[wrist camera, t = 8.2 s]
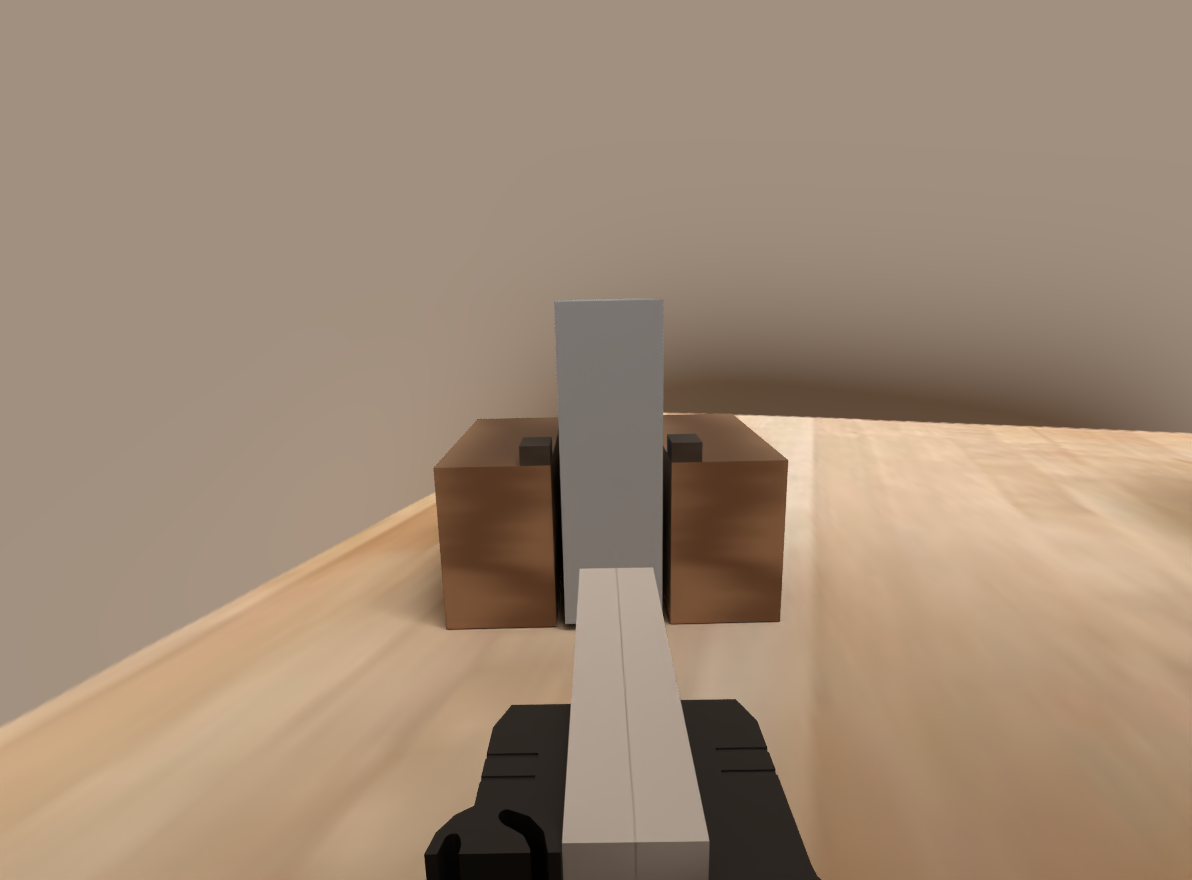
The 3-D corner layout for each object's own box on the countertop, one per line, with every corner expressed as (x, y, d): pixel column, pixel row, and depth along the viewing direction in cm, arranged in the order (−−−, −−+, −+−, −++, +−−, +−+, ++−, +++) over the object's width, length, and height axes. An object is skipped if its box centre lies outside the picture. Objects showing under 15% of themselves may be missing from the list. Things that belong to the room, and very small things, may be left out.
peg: (645, 546, 34) (644, 298, 31) (662, 621, 26) (663, 299, 23) (570, 547, 34) (563, 300, 31) (565, 624, 26) (554, 301, 23)
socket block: (728, 533, 36) (732, 399, 34) (780, 620, 26) (789, 440, 24) (485, 538, 36) (476, 404, 34) (446, 628, 26) (431, 448, 24)
